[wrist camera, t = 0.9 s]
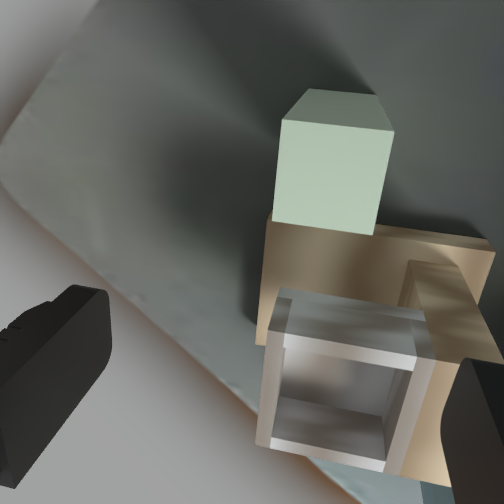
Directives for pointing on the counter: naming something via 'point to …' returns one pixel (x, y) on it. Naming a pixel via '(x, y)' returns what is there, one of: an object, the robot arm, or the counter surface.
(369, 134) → the rail post
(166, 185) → the counter surface
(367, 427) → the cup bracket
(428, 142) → the counter surface
